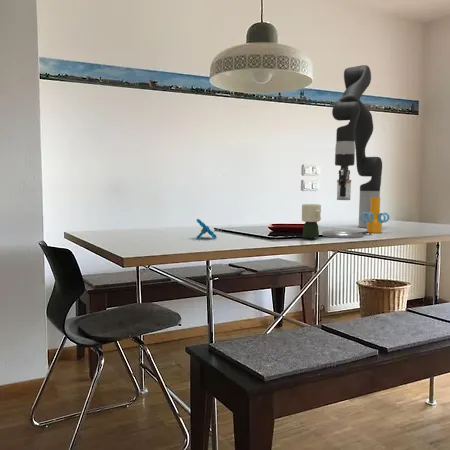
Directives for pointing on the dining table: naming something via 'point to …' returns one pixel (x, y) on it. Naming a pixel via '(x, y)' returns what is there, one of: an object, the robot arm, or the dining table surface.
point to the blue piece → (204, 229)
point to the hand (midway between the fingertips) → (343, 196)
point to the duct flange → (342, 234)
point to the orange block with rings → (374, 216)
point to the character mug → (311, 220)
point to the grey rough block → (348, 190)
